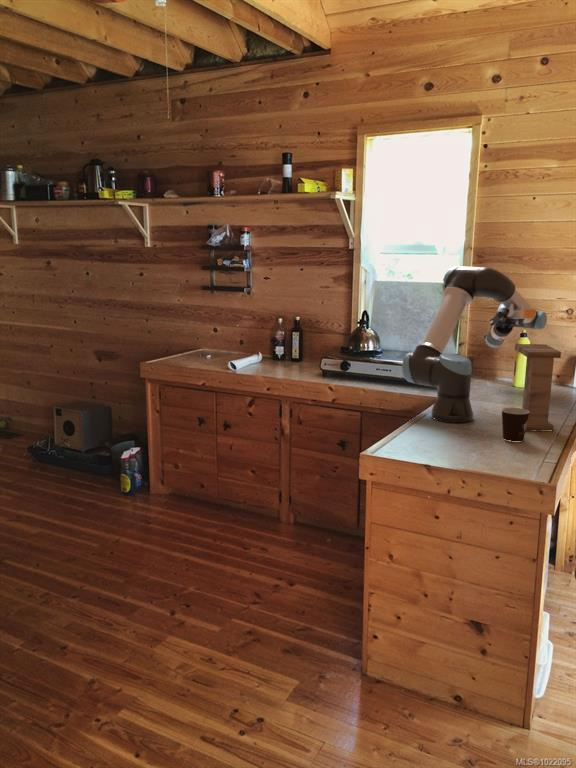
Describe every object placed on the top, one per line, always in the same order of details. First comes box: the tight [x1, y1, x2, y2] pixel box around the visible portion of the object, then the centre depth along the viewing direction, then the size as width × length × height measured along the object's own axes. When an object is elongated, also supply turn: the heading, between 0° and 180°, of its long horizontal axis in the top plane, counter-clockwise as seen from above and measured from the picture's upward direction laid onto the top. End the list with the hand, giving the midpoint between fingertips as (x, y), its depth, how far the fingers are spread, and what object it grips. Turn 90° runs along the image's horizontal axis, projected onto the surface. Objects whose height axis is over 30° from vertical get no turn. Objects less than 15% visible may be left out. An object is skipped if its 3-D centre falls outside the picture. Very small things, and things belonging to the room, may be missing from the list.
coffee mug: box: [501, 407, 529, 441], centre depth 218 cm, size 12×9×10 cm
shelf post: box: [514, 343, 562, 432], centre depth 233 cm, size 16×11×28 cm
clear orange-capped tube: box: [507, 308, 536, 319], centre depth 252 cm, size 26×4×3 cm, turn 176°
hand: (517, 307), depth 256 cm, fingers closed on clear orange-capped tube, 3 cm apart
